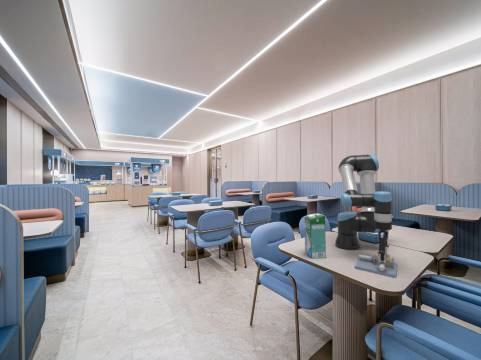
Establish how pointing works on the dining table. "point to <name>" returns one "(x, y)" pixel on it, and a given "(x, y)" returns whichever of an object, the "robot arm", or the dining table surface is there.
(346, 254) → the dining table surface
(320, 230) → the milk carton
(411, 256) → the dining table surface
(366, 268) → the shaft bench
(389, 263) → the block
